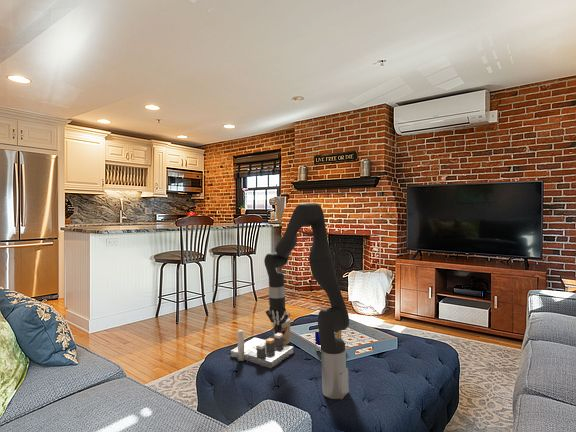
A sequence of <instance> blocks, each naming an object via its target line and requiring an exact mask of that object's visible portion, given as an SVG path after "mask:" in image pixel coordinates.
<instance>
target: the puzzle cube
mask: <svg viewBox="0 0 576 432" xmlns="http://www.w3.org/2000/svg"><path fill="white" fill-rule="evenodd" d="M314 333H315V336H314V337H315V338H314V339H315V345H316V344H318V345H321V344H320V340H319V330H318V329H317V330H316V331H315V332H314ZM334 334H335V338H339V339H342V330H341V331H338V332H335V333H334ZM342 340H343V339H342Z"/></svg>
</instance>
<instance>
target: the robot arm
mask: <svg viewBox="0 0 576 432" xmlns="http://www.w3.org/2000/svg"><path fill="white" fill-rule="evenodd" d="M303 227H311V231H312V236H313V238H312V244H311V248H310V251H309V256H308V263H309V267H310V270H311V271H310V272H311V275H312V277H313V279H314V280H315V281H316V283H317V284H318V285H319V286H320V287H321V289H322V290H323V291H324V292H325V293H326V295H327V298H328V300H329V302H330V307H327V308H322V309H320V310H319V312H318V314H317V327H318V329H317V330H319V340H320V344H321V352H320V353H321V355H320V356H321V358H320V359H321V361H320V362H321V382H322V384H321V385H322V388H321V389H322V394H323V396H324V397H326V398H328V399H330V400H331V399H332V400H343V399H344V398H345V397H346V396H347V395H348V394H349V392H350V391H349V389H350V388H349V368H348V367H347V365H346V364H347V363H346V360H347V359H346V342H345V340H343V339H339V338H335V334H334V333H335V332H338V331H341V332H342V331H344V330H346V329H348V328H349V325H350V317H349V312H348V309H347V306H346V303H345V300H344V298H343V294H342V292H341V289H340V285H339V281H338V277H337V273H336V268H335V264H334V260H333V256H332V253H331V248H330V244H329V240H328V235H327V227H326V220H325V215H324V210H323V208H322V206H321V205H320V204H319V203H315V202H314V203H313V202H312V203H311V202H309V203H308V202H307V203H306V202H305V203H304V202H303V203H299V204H298V205H296V207H294V210H293V211H292V214H291V217H290V219H289V221H288V223H287V226H286V229H285V231H284V233H283V235H282V236H281V238H280V239H279V241H278V242H277V244H276V246H275V252H269V253H266V255H265V257H264V267H265V269H266V273H267V276H268V304H269V308H268V309H267V310H266V311H265V314H266V316H267V317H268V319H269V321H270V322H271V323H272V324H273V323H274V324H275V331H276V332H278V333H279V332H281V330H282V324H283V323H285V322H286V320H287V319H288V318H290V316H291V313H288V311H287V309H286V288H285V275H284V273H283V272H280V271H277V269H278V268H282V267H284V266H286V265H287V263H288V261H289V258H290V254H291V252H293V250H295V247H296V245H297V242H298V232H299V231H300V230H301V229H302V228H303ZM283 317H284V318H283Z"/></svg>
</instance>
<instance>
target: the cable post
mask: <svg viewBox="0 0 576 432" xmlns="http://www.w3.org/2000/svg"><path fill="white" fill-rule="evenodd" d="M244 331H245V330H243V329H239V330H237V331H236V334H237V347H238V358H237V362H239V361H244V360H245V358H244V354H245V351H244V343H245V333H244ZM244 362H245V361H244Z"/></svg>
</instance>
